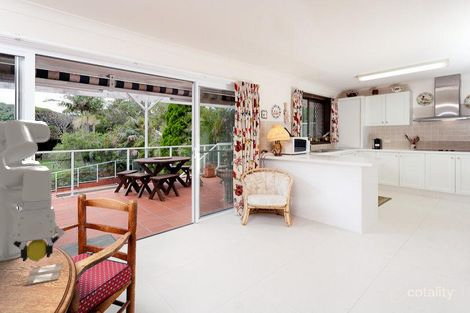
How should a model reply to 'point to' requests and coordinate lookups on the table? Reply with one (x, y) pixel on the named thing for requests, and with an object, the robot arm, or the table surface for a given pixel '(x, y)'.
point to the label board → (44, 274)
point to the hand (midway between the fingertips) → (37, 257)
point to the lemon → (37, 250)
